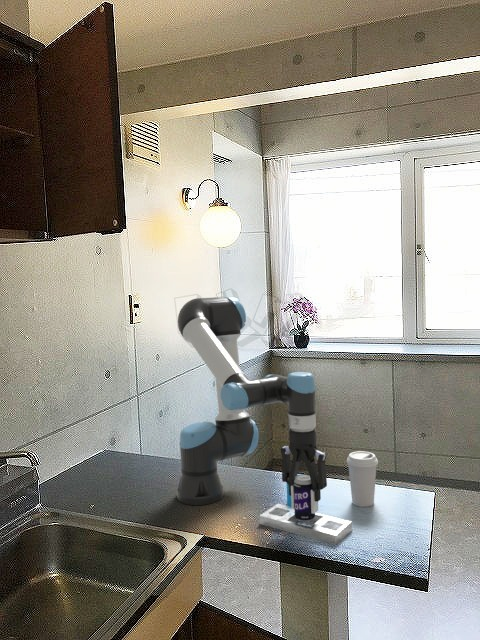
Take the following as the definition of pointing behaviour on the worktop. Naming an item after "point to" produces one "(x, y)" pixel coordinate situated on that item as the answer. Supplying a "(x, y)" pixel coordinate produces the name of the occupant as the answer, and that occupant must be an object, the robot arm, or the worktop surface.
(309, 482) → the beverage can
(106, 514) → the worktop surface
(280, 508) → the white compartment tray
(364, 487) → the coffee cup
